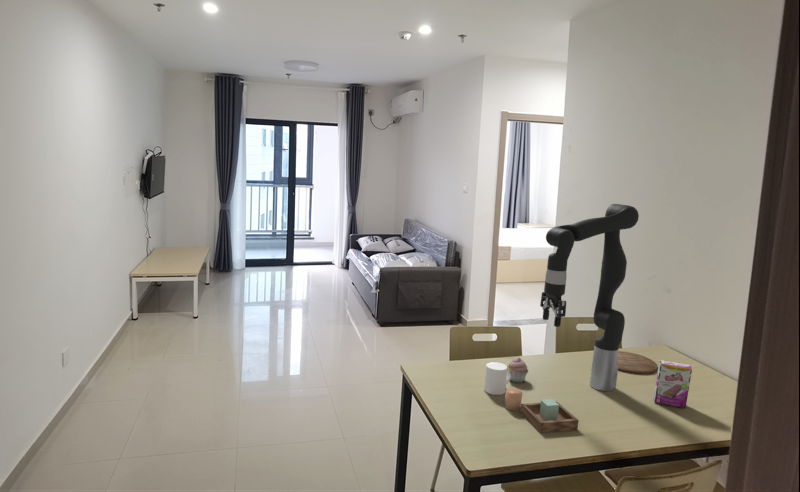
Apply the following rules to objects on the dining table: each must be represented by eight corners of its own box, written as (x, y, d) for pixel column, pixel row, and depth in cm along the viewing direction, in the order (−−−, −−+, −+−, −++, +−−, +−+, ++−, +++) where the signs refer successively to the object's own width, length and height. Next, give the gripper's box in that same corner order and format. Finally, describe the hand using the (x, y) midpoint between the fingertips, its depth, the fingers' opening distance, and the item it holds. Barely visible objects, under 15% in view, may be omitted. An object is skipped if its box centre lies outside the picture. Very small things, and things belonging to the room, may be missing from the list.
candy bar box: (654, 403, 212) (660, 363, 209) (653, 398, 217) (658, 359, 214) (686, 409, 209) (692, 368, 206) (684, 404, 213) (690, 364, 210)
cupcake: (523, 386, 221) (525, 363, 219) (501, 380, 226) (503, 357, 224) (530, 379, 229) (533, 356, 227) (509, 373, 234) (511, 351, 232)
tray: (555, 410, 201) (556, 401, 201) (577, 429, 188) (578, 420, 187) (520, 412, 198) (521, 403, 197) (539, 432, 184) (540, 423, 183)
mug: (481, 364, 215) (502, 358, 222) (479, 389, 216) (500, 382, 224) (497, 371, 208) (518, 365, 215) (495, 397, 210) (516, 390, 217)
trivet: (666, 376, 241) (667, 372, 241) (610, 373, 241) (610, 369, 241) (642, 356, 266) (643, 352, 266) (591, 353, 266) (592, 349, 266)
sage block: (550, 414, 195) (552, 399, 194) (557, 421, 191) (559, 404, 190) (539, 415, 194) (541, 399, 193) (545, 421, 190) (547, 405, 189)
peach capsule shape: (517, 403, 206) (519, 388, 205) (522, 410, 200) (524, 395, 199) (502, 403, 205) (503, 388, 204) (507, 410, 199) (508, 395, 198)
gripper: (574, 285, 198) (570, 328, 201) (554, 276, 212) (550, 317, 215) (556, 286, 197) (551, 329, 199) (537, 277, 210) (533, 317, 213)
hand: (551, 322), depth 207 cm, fingers open, 8 cm apart
